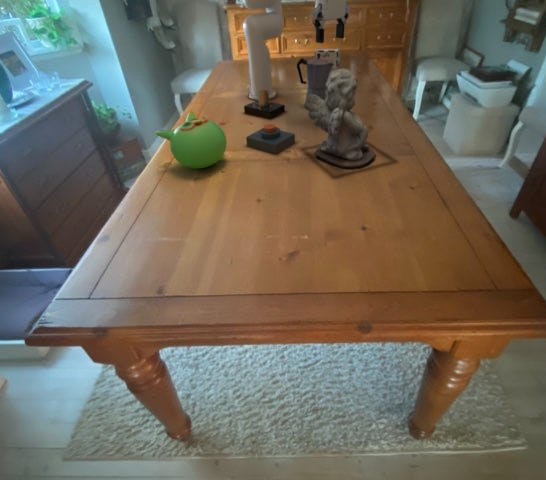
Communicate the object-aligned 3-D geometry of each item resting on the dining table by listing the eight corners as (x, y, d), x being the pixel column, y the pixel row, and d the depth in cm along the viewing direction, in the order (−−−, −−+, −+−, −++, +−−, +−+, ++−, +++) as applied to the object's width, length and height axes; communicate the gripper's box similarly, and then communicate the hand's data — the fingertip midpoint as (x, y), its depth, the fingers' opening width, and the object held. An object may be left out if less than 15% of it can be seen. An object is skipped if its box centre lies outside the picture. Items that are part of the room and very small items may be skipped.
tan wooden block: (256, 105, 144) (255, 91, 140) (263, 102, 147) (262, 88, 143) (265, 107, 142) (263, 92, 138) (271, 104, 145) (270, 89, 141)
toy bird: (202, 182, 104) (191, 133, 94) (163, 169, 111) (149, 123, 101) (239, 158, 115) (233, 112, 105) (201, 148, 122) (192, 104, 112)
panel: (244, 113, 147) (243, 105, 145) (259, 106, 153) (258, 99, 150) (270, 119, 140) (270, 111, 138) (285, 112, 146) (284, 104, 144)
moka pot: (330, 110, 145) (333, 56, 132) (294, 109, 148) (293, 56, 134) (333, 103, 152) (336, 50, 139) (298, 102, 155) (298, 50, 141)
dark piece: (247, 146, 122) (245, 131, 119) (266, 135, 129) (265, 121, 125) (276, 154, 116) (275, 139, 113) (294, 142, 123) (294, 128, 119)
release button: (262, 132, 119) (261, 127, 118) (269, 128, 121) (268, 123, 120) (271, 134, 117) (270, 129, 116) (278, 130, 120) (277, 125, 118)
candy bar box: (339, 87, 169) (341, 48, 157) (336, 90, 165) (338, 50, 154) (317, 86, 172) (317, 47, 161) (313, 88, 169) (314, 49, 157)
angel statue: (333, 177, 103) (339, 86, 86) (302, 149, 118) (301, 67, 101) (395, 161, 109) (411, 73, 92) (357, 137, 124) (365, 57, 107)
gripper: (342, -28, 113) (339, 35, 124) (303, -23, 105) (303, 43, 116) (360, -28, 108) (355, 37, 120) (320, -23, 100) (319, 45, 112)
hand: (329, 40), depth 118 cm, fingers open, 9 cm apart
